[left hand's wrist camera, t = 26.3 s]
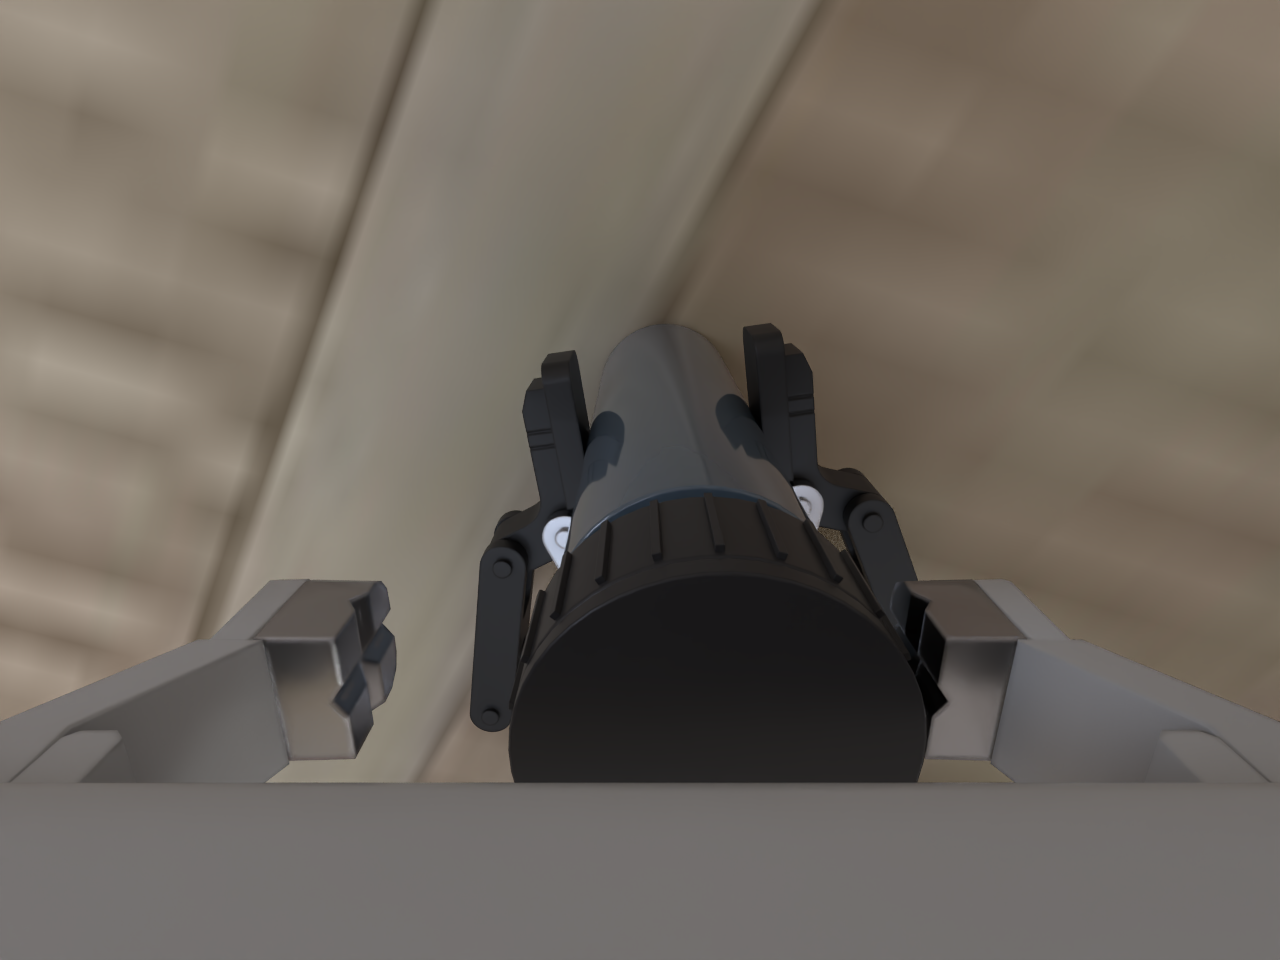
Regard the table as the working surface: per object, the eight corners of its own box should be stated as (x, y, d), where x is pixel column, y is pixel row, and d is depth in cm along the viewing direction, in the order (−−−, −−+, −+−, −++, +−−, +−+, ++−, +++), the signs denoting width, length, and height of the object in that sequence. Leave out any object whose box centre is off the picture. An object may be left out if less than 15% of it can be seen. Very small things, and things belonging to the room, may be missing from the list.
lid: (610, 431, 9) (603, 495, 7) (944, 573, 10) (1023, 667, 8) (479, 719, 11) (442, 837, 9) (773, 822, 11) (802, 953, 9)
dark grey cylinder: (629, 303, 24) (610, 491, 8) (749, 353, 24) (950, 619, 9) (582, 421, 25) (490, 775, 10) (696, 465, 26) (786, 867, 10)
